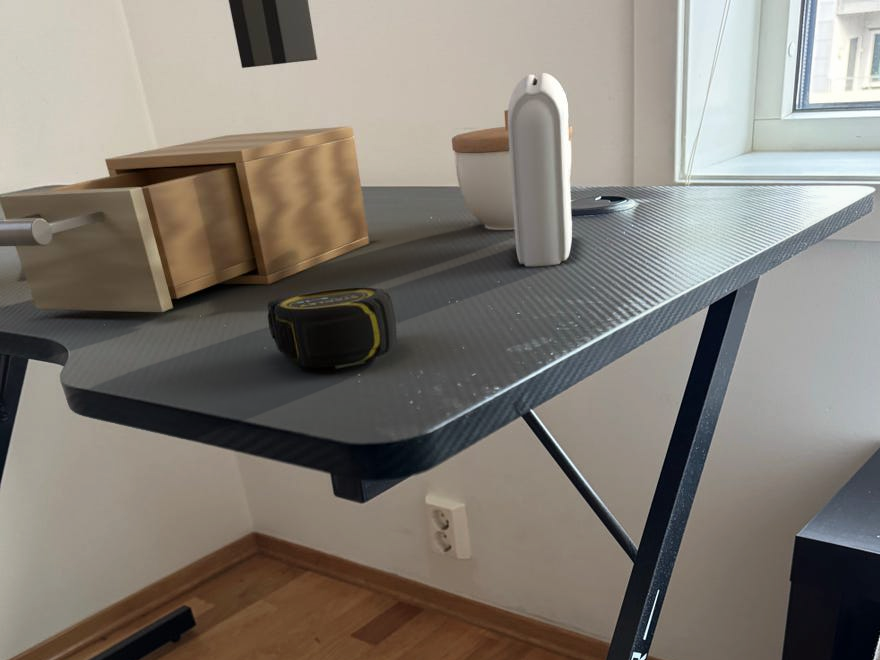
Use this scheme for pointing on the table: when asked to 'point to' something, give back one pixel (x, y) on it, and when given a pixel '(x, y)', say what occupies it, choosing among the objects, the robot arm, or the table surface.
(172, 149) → the cabinet
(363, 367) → the table surface
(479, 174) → the white lidded jar
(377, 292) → the tape measure
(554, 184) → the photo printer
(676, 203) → the table surface
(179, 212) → the drawer
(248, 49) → the robot arm
